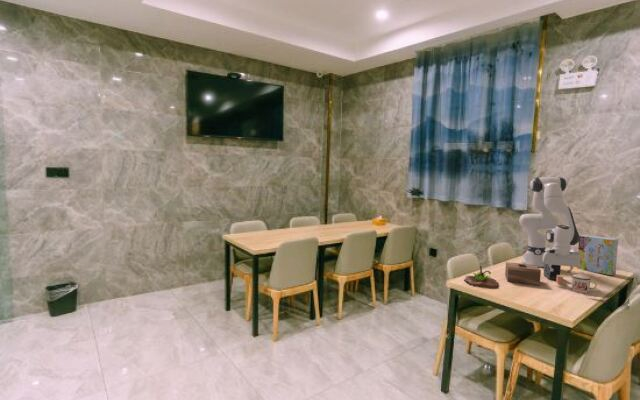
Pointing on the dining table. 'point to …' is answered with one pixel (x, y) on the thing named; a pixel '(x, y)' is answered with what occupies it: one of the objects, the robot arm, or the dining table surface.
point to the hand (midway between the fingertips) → (560, 272)
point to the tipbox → (523, 273)
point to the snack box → (598, 254)
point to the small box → (550, 274)
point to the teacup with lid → (581, 283)
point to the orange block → (559, 279)
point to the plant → (481, 280)
